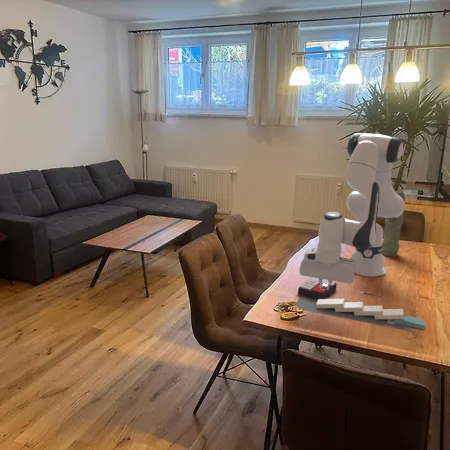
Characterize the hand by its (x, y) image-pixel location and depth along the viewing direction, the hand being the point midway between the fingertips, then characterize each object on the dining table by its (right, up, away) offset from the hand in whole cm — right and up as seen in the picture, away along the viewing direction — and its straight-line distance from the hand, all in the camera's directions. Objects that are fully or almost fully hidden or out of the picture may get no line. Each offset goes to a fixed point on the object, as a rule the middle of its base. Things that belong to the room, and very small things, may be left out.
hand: (324, 289), depth 162 cm
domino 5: (+24, -10, -7) cm, 27 cm away
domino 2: (+4, -7, 0) cm, 8 cm away
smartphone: (+25, -7, +12) cm, 28 cm away
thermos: (+52, +8, +70) cm, 88 cm away
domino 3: (+11, -8, -2) cm, 14 cm away
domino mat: (+10, -9, -1) cm, 14 cm away
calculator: (0, -4, +15) cm, 16 cm away
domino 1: (-2, -6, +2) cm, 7 cm away
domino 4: (+18, -9, -5) cm, 20 cm away
